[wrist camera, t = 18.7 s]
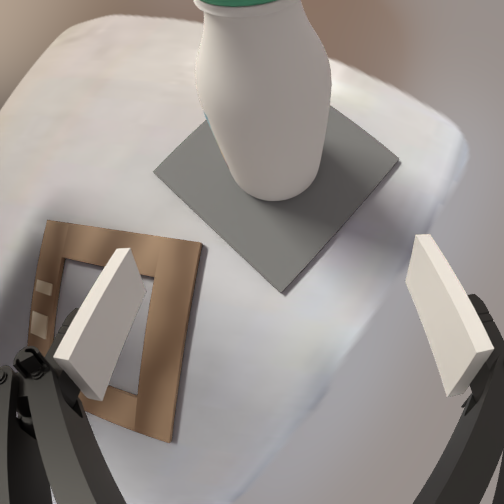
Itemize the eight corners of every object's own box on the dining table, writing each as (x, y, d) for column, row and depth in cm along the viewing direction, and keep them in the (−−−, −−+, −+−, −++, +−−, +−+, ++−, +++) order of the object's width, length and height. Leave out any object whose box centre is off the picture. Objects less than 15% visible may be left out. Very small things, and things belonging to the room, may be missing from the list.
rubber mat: (154, 173, 29) (152, 171, 28) (269, 69, 29) (269, 66, 29) (280, 293, 26) (280, 293, 25) (398, 160, 26) (399, 158, 26)
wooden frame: (29, 379, 27) (24, 380, 26) (50, 221, 30) (46, 219, 29) (171, 440, 24) (168, 443, 24) (202, 243, 27) (199, 242, 26)
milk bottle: (336, 157, 26) (385, -49, 7) (280, 222, 26) (249, 27, 7) (269, 110, 28) (238, -87, 8) (212, 168, 28) (105, -17, 8)
